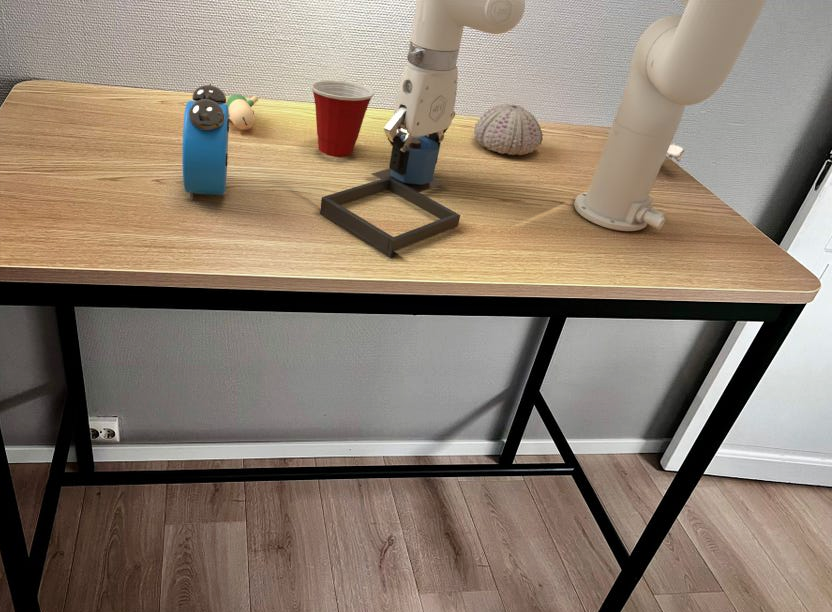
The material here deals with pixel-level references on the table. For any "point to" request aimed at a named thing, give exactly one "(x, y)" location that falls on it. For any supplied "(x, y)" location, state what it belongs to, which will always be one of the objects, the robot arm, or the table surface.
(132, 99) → the table surface
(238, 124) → the toy figurine
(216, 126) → the alarm clock
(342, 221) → the tray
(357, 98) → the plastic cup
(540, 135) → the sea urchin shell
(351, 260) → the table surface
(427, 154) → the ring
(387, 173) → the dowel stand
